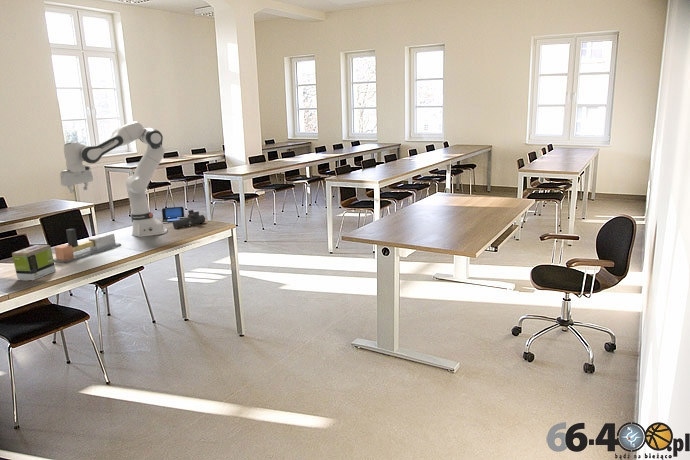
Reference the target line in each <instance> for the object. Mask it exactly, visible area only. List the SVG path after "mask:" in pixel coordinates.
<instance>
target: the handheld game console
mask: <svg viewBox="0 0 690 460" xmlns="http://www.w3.org/2000/svg"><path fill="white" fill-rule="evenodd" d="M161 217H162V221H161V222H173V220H179V219H183V218H177V217H184V218H185V208H184V206H174V207H173V206H172V207H164V208H163V207H162V209H161ZM168 217H170V218H168Z"/></svg>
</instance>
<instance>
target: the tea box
mask: <svg viewBox="0 0 690 460" xmlns="http://www.w3.org/2000/svg"><path fill="white" fill-rule="evenodd" d="M11 256H12V260H13V264H14V269H15V273H16V276H17V280H18V279H21V280H20V281H28V280H32V281H35V280H37V279H40V278H43V277H45V276H48V275H50V274H52V273H55V272H57V270H56V265H55V262H54V260H53V259H54V256H53V251H52V247H51V245H49V244H47V245H46V244H34V245H32V246H29V247H26V248H25V247H24V248H22V249H20V250H17V251H14V252H11ZM32 281H31V282H32Z"/></svg>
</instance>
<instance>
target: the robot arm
mask: <svg viewBox="0 0 690 460" xmlns="http://www.w3.org/2000/svg"><path fill="white" fill-rule="evenodd" d="M163 139H164V137H163V134H162V132H161V131H159V130H158V129H156V128H153V127H147V126H143V124H142V123H140V122H139V121H132V122H129V123H126V124H124V125H121V126H120V127H118V128H117V129H115V130H114V131H113V132H112V134H111V136H110V137H109V138H108V139H107V140H105V141H103V142H101V143H99V144H97V145H92V146H90V145H87V144H84V143H80V142H78V141H70V142H66V143H65V144H64V145H63V153H64V158H65V162H66V163H65V165H66V170H62V171H61V172H60V173H59V176H60V185H61V186H62V187H67V188H68V190H69V193H70V194H73V193H75V189H73V188H72V187H73V186H75V185H80V184H84V185H83V187H82V188H83V191H87V190H88V186H89V183H92V182H93V180H94V177H93V176H94V175H93V173H92V169H91V166H88V165H83V162H86V163H87V164H96V163H98V162H99V161H100V160H101V158H102V157H103V156H104V155H105V154H107V153H110V151H112V150H115V149H116V148H120V147H123V146H126V145H128V144H130V143H133V142H135V140H136V141H137V140H140V141H141V142H142V143H143V144H145V145H147V146H146V147H147V148H146V151H144V154H143V155H142V156H141V159H140V160H139V162H138V163H137V166H136V167H135V170H134V173H133V174H132V175H130V176H128V177H127V178H126V181H125V186H126V192H127V196H128V200H129V205H130V211H131V214H130V215H131V216H130V218H131V222H132V233H131V235H132V236H133V237H138V238H142V237H150V236H158V235H163V234H166V233H167V232H168V231H167V230H168V228H165V227H164V223H162V221H161V220H159V219H157V218H156V217H154V213H153V212H151V211H150V208H149V201H148V198H147V193H146V190H147V188H148V186H149V184H150V182H151V180H152V177H153V175H154V173H155V171H156V170H157V169H158V167H159V165H160V163H161V162H162V159H163V158H164V155H165V152H166V150H165V147H164V146H163Z"/></svg>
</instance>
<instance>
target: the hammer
mask: <svg viewBox="0 0 690 460" xmlns="http://www.w3.org/2000/svg"><path fill="white" fill-rule="evenodd" d="M65 232H66V239H67V243H68V244H67V245H72V249H73V253H74V252H78V251H81V250H84V249H87V248H90V247H93V246H95V242H94V240H91V241H89V240H88V241H85V242H82V243H78V238H77V233H76V228H68V229H65Z"/></svg>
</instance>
